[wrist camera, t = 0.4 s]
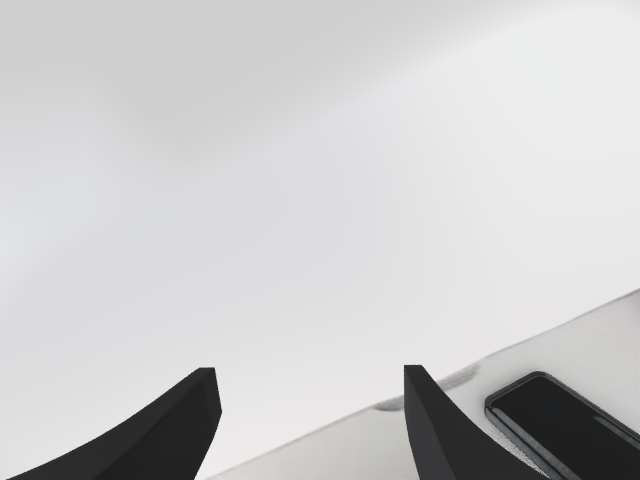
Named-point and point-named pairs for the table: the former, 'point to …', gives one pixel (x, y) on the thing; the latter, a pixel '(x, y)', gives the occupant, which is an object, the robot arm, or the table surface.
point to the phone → (564, 430)
